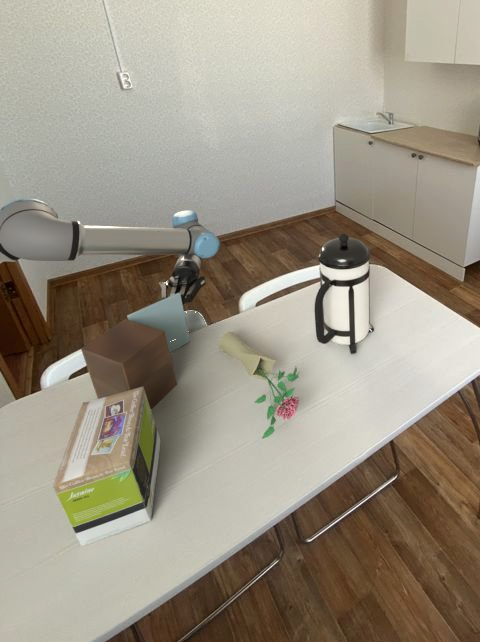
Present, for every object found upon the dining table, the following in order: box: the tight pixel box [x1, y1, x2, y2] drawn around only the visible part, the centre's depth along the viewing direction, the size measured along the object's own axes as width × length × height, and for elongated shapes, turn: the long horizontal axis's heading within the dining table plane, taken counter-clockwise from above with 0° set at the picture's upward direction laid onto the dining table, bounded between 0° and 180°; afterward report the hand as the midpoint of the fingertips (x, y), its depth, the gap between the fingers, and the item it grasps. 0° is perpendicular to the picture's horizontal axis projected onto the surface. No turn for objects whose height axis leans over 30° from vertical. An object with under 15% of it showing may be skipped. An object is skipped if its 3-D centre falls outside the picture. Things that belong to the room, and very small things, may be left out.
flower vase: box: [217, 331, 300, 439], centre depth 84 cm, size 12×12×35 cm
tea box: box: [52, 387, 162, 547], centre depth 64 cm, size 15×10×15 cm, turn 21°
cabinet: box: [80, 318, 178, 410], centre depth 83 cm, size 10×12×15 cm
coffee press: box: [314, 233, 375, 355], centre depth 96 cm, size 17×16×30 cm
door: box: [126, 293, 191, 353], centre depth 94 cm, size 3×12×15 cm, turn 139°
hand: (170, 316), depth 98 cm, fingers closed
